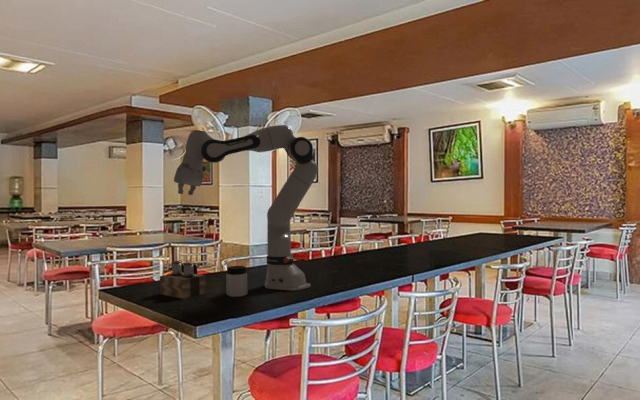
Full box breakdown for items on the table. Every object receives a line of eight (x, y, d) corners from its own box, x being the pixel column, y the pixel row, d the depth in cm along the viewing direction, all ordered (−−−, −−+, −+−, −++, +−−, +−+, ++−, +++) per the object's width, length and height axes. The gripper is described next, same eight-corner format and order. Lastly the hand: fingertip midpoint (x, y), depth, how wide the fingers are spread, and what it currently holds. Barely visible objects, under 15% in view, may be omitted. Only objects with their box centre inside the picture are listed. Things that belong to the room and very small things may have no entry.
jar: (247, 292, 206) (247, 265, 206) (246, 296, 198) (246, 268, 198) (227, 293, 205) (227, 265, 205) (225, 297, 197) (225, 268, 197)
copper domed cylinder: (195, 279, 202) (195, 262, 202) (188, 281, 199) (187, 263, 199) (189, 278, 205) (189, 261, 204) (181, 280, 201) (181, 263, 201)
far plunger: (183, 278, 207) (183, 261, 207) (176, 279, 203) (175, 262, 203) (177, 277, 209) (177, 260, 209) (170, 278, 206) (169, 261, 206)
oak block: (205, 293, 204) (205, 275, 204) (183, 298, 195) (183, 279, 194) (182, 289, 214) (182, 272, 213) (160, 294, 204) (159, 276, 204)
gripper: (187, 163, 203) (180, 194, 203) (207, 168, 223) (201, 196, 223) (174, 160, 204) (167, 191, 204) (195, 166, 224) (189, 194, 224)
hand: (185, 194), depth 213 cm, fingers open, 8 cm apart
